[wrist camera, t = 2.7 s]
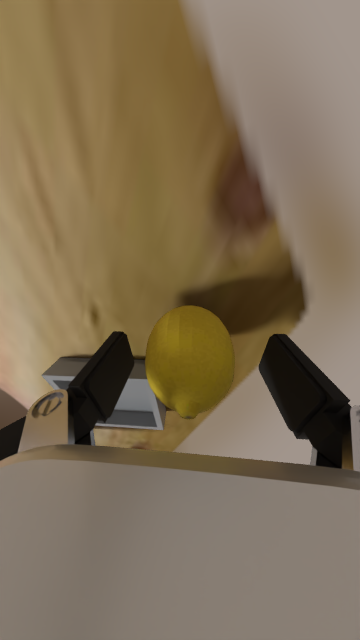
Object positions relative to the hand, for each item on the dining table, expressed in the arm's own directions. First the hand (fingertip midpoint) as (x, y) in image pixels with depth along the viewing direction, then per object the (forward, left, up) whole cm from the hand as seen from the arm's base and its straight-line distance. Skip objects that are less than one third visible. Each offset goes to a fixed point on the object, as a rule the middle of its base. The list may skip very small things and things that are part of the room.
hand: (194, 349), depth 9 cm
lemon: (0, 0, -4) cm, 4 cm away
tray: (+12, -10, -4) cm, 16 cm away
